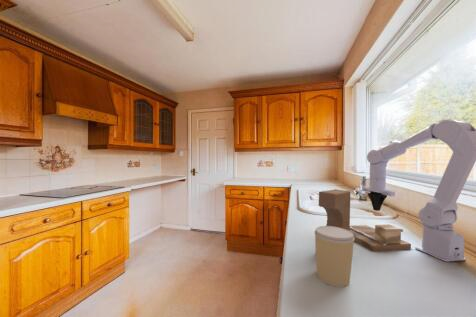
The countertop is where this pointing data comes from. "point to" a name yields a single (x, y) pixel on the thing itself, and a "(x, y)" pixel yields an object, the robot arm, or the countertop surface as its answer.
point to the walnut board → (373, 244)
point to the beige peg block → (388, 233)
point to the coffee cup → (334, 255)
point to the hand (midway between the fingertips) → (376, 210)
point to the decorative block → (336, 207)
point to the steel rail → (368, 236)
